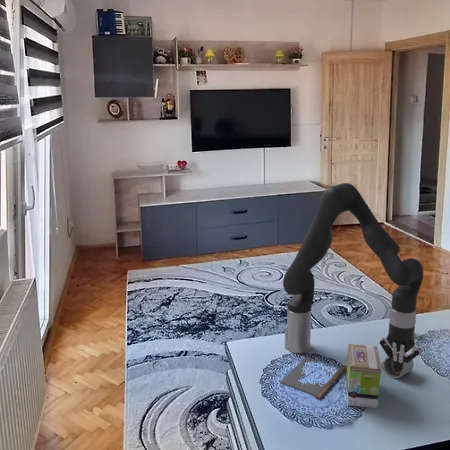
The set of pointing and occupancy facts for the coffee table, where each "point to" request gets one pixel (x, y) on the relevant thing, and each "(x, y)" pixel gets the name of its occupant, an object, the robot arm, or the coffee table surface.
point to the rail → (329, 383)
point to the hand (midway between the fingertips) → (397, 370)
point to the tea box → (363, 376)
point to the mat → (297, 374)
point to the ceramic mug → (391, 372)
